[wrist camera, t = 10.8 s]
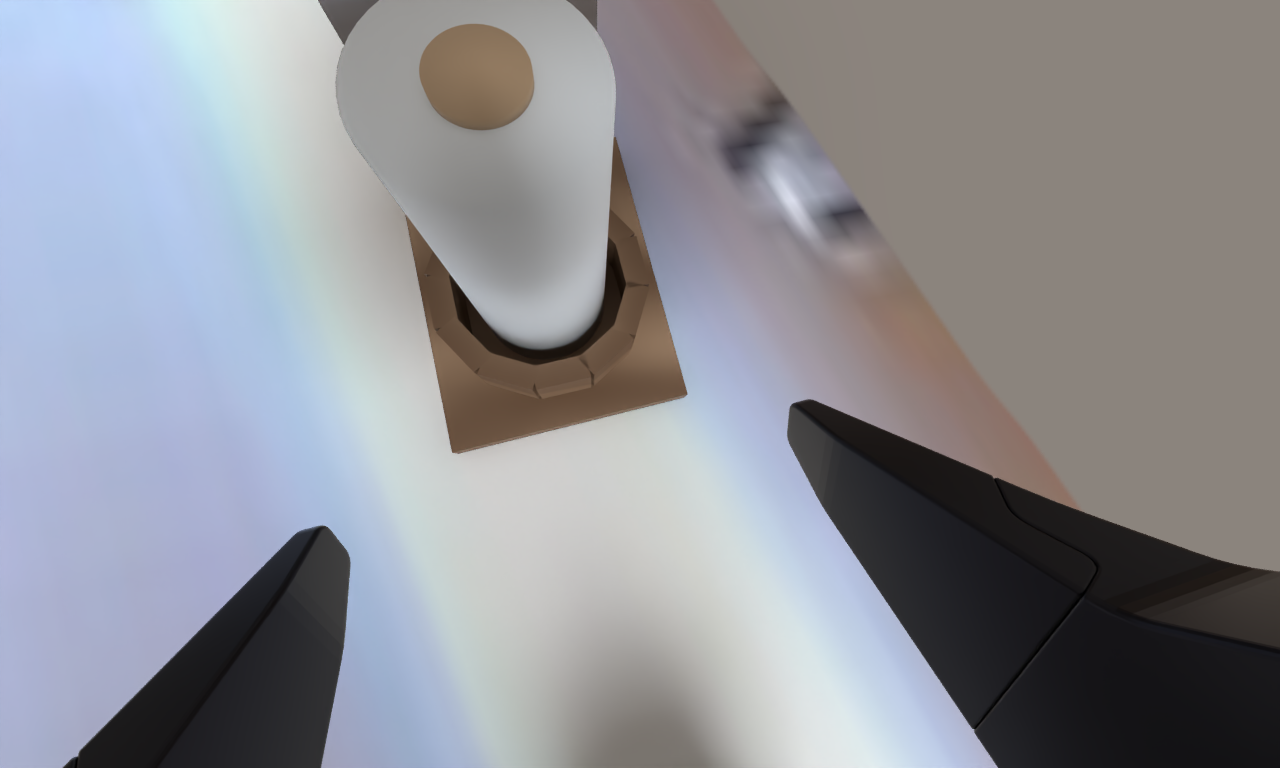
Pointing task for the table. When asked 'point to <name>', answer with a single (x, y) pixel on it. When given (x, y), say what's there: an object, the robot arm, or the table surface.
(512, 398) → the stand
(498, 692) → the table surface
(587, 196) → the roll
